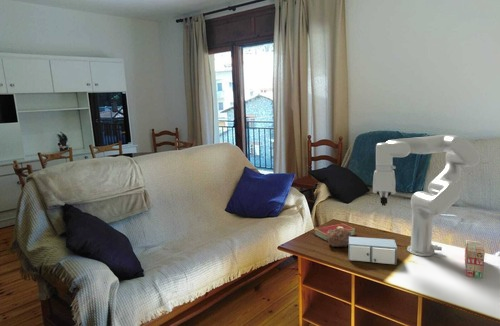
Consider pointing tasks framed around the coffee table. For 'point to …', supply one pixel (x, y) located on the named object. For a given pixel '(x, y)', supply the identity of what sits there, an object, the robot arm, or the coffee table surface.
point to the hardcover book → (323, 230)
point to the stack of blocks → (474, 259)
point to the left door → (384, 255)
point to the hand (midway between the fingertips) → (383, 204)
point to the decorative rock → (338, 237)
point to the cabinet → (367, 247)
